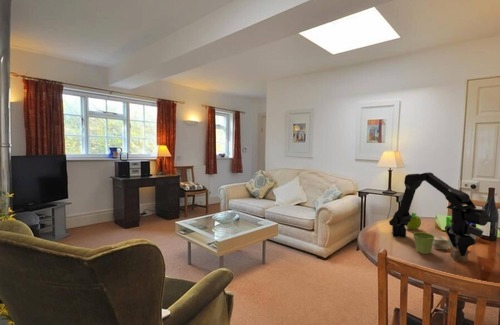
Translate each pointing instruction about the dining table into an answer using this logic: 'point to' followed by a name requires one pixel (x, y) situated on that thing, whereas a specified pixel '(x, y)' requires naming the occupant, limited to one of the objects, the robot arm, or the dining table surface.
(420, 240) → the plant pot
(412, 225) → the fruit
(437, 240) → the oak block
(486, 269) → the dining table surface
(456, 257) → the walnut block
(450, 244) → the sage block
